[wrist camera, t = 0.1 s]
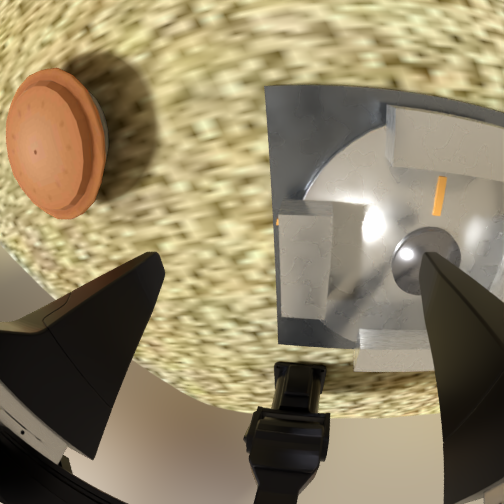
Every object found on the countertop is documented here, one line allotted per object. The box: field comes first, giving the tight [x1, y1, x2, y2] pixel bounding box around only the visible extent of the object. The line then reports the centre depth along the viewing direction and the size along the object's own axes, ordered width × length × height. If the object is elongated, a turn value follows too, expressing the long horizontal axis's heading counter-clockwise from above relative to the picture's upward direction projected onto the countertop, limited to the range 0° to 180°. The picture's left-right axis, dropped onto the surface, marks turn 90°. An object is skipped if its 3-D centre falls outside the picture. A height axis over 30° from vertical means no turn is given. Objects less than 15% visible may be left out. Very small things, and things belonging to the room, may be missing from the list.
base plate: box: [264, 85, 504, 349], centre depth 22 cm, size 25×25×2 cm
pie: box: [6, 68, 109, 219], centre depth 23 cm, size 15×16×5 cm
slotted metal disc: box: [278, 105, 504, 372], centre depth 20 cm, size 23×23×4 cm
